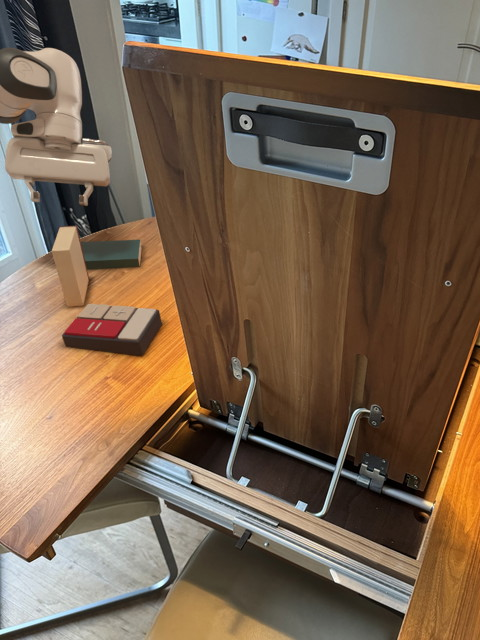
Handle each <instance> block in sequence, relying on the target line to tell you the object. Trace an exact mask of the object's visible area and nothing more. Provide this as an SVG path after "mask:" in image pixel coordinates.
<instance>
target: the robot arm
mask: <svg viewBox="0 0 480 640" xmlns="http://www.w3.org/2000/svg"><path fill="white" fill-rule="evenodd" d="M82 87H83V86H82V78H81V73H80V69H79V66H78V65H77V62H76V61H75V59H74V58H72V57H71V56H70V55H69V54H67V53H66V52H64V51H62V50H59V49H57V48H53V47H45V48H42V49H40V50H35V51H26V50H21V49H18V48H16V47H4V48H1V49H0V124H2V125H10V124H12V125H11V126H10V133H11V135H12V137H11V138H10V139H9V140H8V142H7V144H6V149H5V158H4V159H5V160H4V169H5V172H6V173H7V175H9V177H11V179H13V180H21V181H23V180H24V184H25V185H26V187H27V189H28V190H29V192H30V201H31V202H32V203H41V199H40V198H41V193H40V192H39V191H35V189H34V188H33V186H35V182H47V183H59V184H71V185H72V184H73V185H83V186H84V187H85V189H86V190H85V191H84V192H83V194H79V196H78V199H79V200H78V204H79V205H80V206H85V207H88V205H89V203H88V202H89V198H90V196H91V194H92V193H93V191H94V186H95V187H108V186H109V185H110V184H111V170H110V163H109V162H110V161H111V160H112V155H113V153H112V147H111V145H110V144H109V143H107V142H105V141H104V140H102V139H92V138H85V137H83V121H82V118H81V109H82V107H83V89H82ZM27 110H30V111H33V112H34V114H35V119H31V120H26V121H22V122H18V121H19V120H20V119H21V118H22V117H23V116H24V114H25V113H26V111H27Z"/></svg>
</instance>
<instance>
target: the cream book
mask: <svg viewBox="0 0 480 640" xmlns="http://www.w3.org/2000/svg"><path fill="white" fill-rule="evenodd" d="M81 242H82V241H81V238H80V234H79V230H78V226H77V225H64V226H59V229H58V232H57V234H56V237H55V240H54V242H53V245H52V249H51V255H52V258H53V261H54V265H55V268H56V273H57V276H58V278H59V282H60V286H61V289H62V292H63V297H64V301H65V304H66V307H68V308H69V307H82V306H84V304H85V300H86V295H87V290H88V285H89V281H90V276H89V275H90V274H89V272H88V270H87V267H86V263H85V258H84V254H83V250H82V246H81Z"/></svg>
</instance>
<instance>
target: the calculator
mask: <svg viewBox="0 0 480 640" xmlns="http://www.w3.org/2000/svg"><path fill="white" fill-rule="evenodd" d="M162 324H163V322H162V318H161V313H160V309H156V308H147V307H145V308H144V307H136V306H129V305H116V304H115V305H110V304H101V303H88V304H86V306H84V308H83V309H82V310H81V311H80V313H78V315H77V317H76V318H74V319H73V320H72V321H71V323H70V324H69V326H67V328H66V329H65V330H64V332H63V333H62V335H61V338H62V340H63V343H64V345H65V347H66V348H72V349H82V350H88V351H96V352H106V353H114V354H119V355H120V354H121V355H128V356H129V355H130V356H136V357H137V356H138V357H142V356H144V355H145V352H146V350H147V349H148V348H149V346H150V344H151V343H152V341H153V339H154V338H155V336H156V334H157V333H158V331H159V329H160V328H161V326H162Z"/></svg>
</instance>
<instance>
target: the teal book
mask: <svg viewBox="0 0 480 640" xmlns="http://www.w3.org/2000/svg"><path fill="white" fill-rule="evenodd" d="M141 241H142V240H141V239H119V240H117V239H116V240H115V239H114V240H95V241H92V240H91V241H80V242H81V246H82V250H83V254H84V258H85V263H86V267H87V271H88V270H89V271H91V270H109V269H110V270H111V269H127V268H128V269H129V268H140V267H141V260H142V259H141V258H142V250H143V248H142V242H141Z"/></svg>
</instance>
